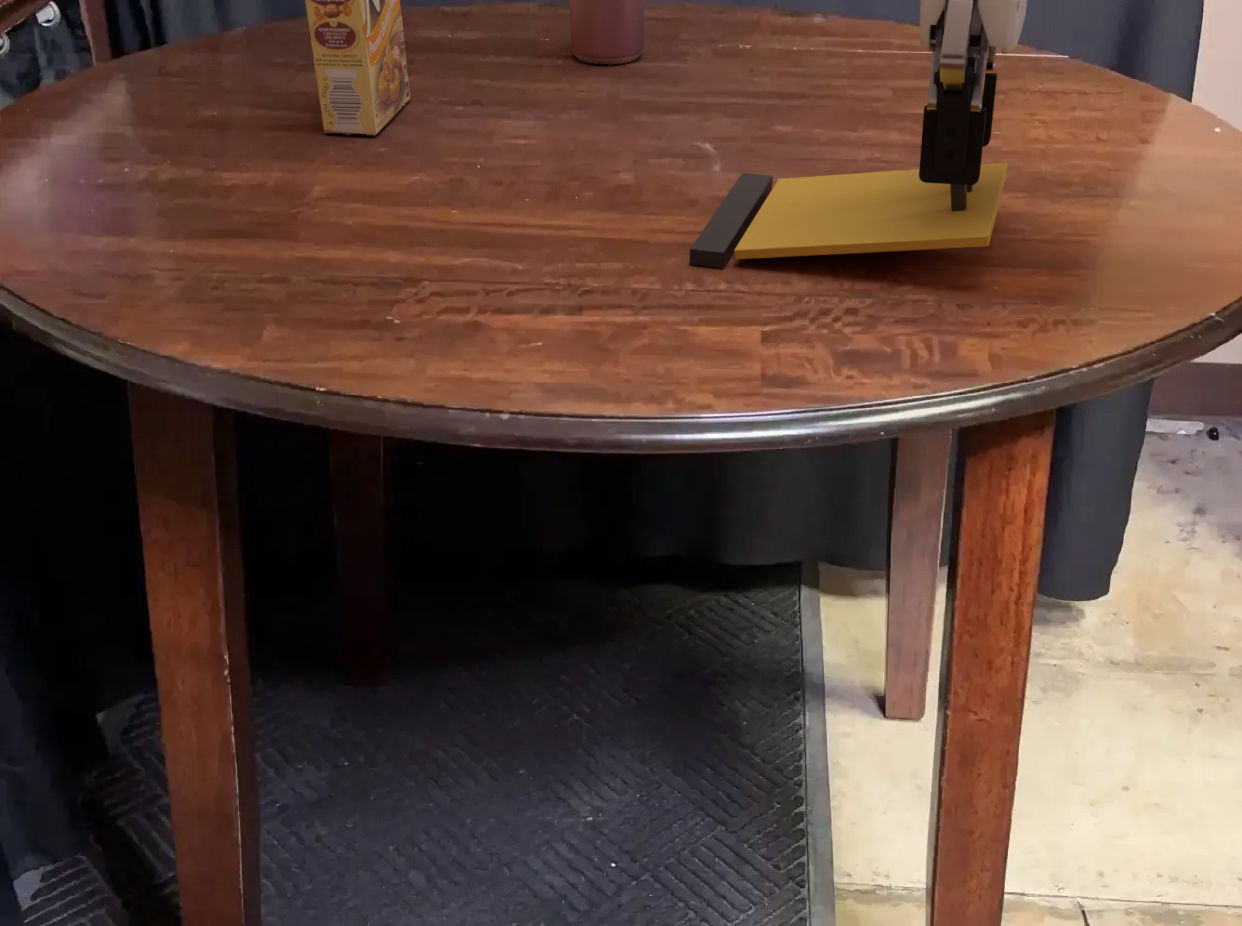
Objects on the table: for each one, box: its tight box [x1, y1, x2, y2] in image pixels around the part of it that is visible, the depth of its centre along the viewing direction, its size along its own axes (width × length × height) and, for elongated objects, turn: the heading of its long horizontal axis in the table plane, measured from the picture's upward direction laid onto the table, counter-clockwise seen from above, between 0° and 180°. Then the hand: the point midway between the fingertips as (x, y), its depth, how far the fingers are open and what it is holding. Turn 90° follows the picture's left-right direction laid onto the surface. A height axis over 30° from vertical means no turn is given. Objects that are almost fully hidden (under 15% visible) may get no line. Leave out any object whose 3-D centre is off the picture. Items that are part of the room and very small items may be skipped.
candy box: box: [304, 0, 411, 137], centre depth 98 cm, size 9×4×15 cm, turn 171°
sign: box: [733, 162, 1008, 260], centre depth 80 cm, size 14×12×6 cm
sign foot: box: [689, 172, 774, 269], centre depth 85 cm, size 2×13×1 cm, turn 163°
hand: (955, 159), depth 79 cm, fingers closed on sign, 5 cm apart
